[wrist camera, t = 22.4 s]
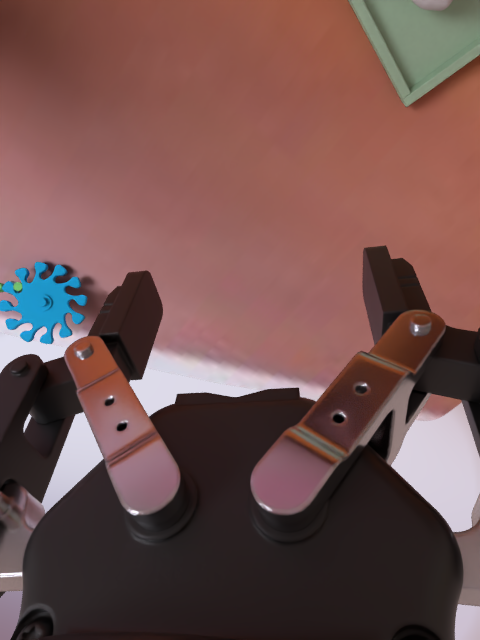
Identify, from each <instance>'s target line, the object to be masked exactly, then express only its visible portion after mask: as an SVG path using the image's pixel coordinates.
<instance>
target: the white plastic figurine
mask: <svg viewBox="0 0 480 640" xmlns="http://www.w3.org/2000/svg"><path fill="white" fill-rule="evenodd" d="M412 1H413V2H414V3H415V4H416V5H417V6H418V7H420V8H422V9H424V10H434V11H442V10H444V9H446V8H447V7H448V6H449V5H450V4H451V2H452V1H453V0H412Z"/></svg>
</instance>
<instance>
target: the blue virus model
mask: <svg viewBox="0 0 480 640" xmlns="http://www.w3.org/2000/svg"><path fill="white" fill-rule="evenodd" d="M35 270H36V274H35V278H34V280H33V281H32V282H31V283H28V282H27V278H28V276H29V271H28V269H26V268H20V269H18V270H15V274H16V275H17V276H18V277H19V279H20V280H21V282H22V283H19V282H14V281H11V282H9V281H8V282H6V283H5V284H2V283H0V292H4V291H5V292H8V293H9V294H11V295H14V296H15V297H16V299H17V300H18V305H17V306H16V307H14V306H13V305H12V304H11V302H9V301H5V300H2V301H1V302H0V310H1V311H6V312H7V311H12V310H14V311H17V312H19V313H21V314H22V319H21V320H19V321H18V320H16V319H7V320H6V325H7V328H8V329H10V330H14V329H16V328H17V327H18V326H20V325H21V324H24V323H31V324H32V325H33V328H32V330H30V331H24V332H22V333H21V334H20V336H21V338H22V339H23V340H25V341H27V342H30V341H32V340H33V339H34V335H35V333H36V332H37V331H38V330H39V329H40V328H42V327H43V326H45V327H46V328H47V333H46V334H44V335H43V336H42V337H41V338H40V342H42V343H45V344H52V343H53V341H54V339H53V329H54V327H55V325H56V323H60V324H61V325H62V328H61V330H60V332H59V335H60V337H61V338H64V337H69V336H71V335H72V331H71V329H69V327H68V326H67V324H66V320H65V316H66V314H67V313H71V314H72V320H73V322H74V323H75V324H80V323H81V322H82V321H83V320H84V319H85V316H84V315H82V314H79V313H77V312H75V311H74V310H73V309H72V308H71V307H70V305H69V302H70V301H71V300H72V299H74V300H75V301H76V302H77V304H79V305H81V306H85V305H86V303H87V296H85V295H79V296H72V295H69V294H67V293H66V288H67V287H68V286H72V287H74V288H80V287H81V282H80V280H79V278H78V277H73V278H71V279H70V280H69V281H67V282H65V283H60V284H57V283H56V281H55V279H56V277H58V276H64V275H66V274H67V270H66V269H65V268H64V267H62V266H61V265H57V266H56V267H55V269H54V272H53V273H52V275H51V276H50V277H48V278H47V279H45V280H43V279H42V278H41V275H42V274H43V273H44V272H46V271H47V270H48V265H46V264H44V263H41V262H36V263H35Z"/></svg>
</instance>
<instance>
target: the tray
mask: <svg viewBox="0 0 480 640" xmlns="http://www.w3.org/2000/svg"><path fill="white" fill-rule="evenodd" d="M348 1H349V3H350V5H351V7H352V9H353V11H354V13H355V15H356V16H357V18H358V20H359V22H360V24H361V26H362V28H363V30H364V31H365V33H366V35H367V37H368V39H369V41H370V43H371V45H372V46H373V48H374V50H375V52H376V54H377V56H378V58H379V60H380V62H381V63H382V65H383V67H384V69H385V71H386V73H387V75H388V77H389V78H390V80H391V82H392V84H393V86H394V88H395V90H396V92H397V93H398V95H399V97H400V99H401V101H402V103H403V104H404V105H405V106H406V107H408V106H409V105H411V104H412V103H413V102H415V101H416V100H417V99H419V98H420V97H422V96H423V95H424V94H426V93H427V92H429V91H430V90H431V89H433V88H434V87H436V86H437V85H438V84H440V83H441V82H443V81H444V80H445V79H447V78H448V77H450V76H451V75H452V74H454V73H455V72H456V71H458V70H459V69H461V68H462V67H463V66H465V65H466V64H468V63H469V62H470V61H472V60H473V59H475V58H476V57H477V56H479V55H480V0H453V1H452V2H451V4H450V5H449V6H448V7H447V8H446V9H444V10H442V11H434V10H424V9H422V8H420V7H418V6H417V5H416V4H415V3H414V2H413V1H412V0H348Z"/></svg>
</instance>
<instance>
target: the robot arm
mask: <svg viewBox="0 0 480 640" xmlns="http://www.w3.org/2000/svg"><path fill="white" fill-rule="evenodd" d="M363 297H364V302H365V306H366V310H367V315H368V319H369V323H370V327H371V331H372V336H373V340H374V344H375V346H374V347H373V348H372V349H371V350H370V352H369V353H366V352H363V351H360V352H358V353H357V354H356V355H355V356H354V357H353V358H352V360H351V361H350V362H349V363H348V364H347V366H346V367H345V368H344V369H343V370H342V372H341V373H340V374H339V375H338V376H337V378H336V379H335V380H334V381H333V382H332V384H331V385H330V386H329V387H328V388H327V389H326V391H325V392H324V393H323V394H322V395H321V397H320V398H319V399H318V400H317V401H314V400H310V399H307V398H302V397H300V393H299V388H283V389H267V390H263V391H259V392H256V393H252V394H248V395H244V396H240V397H229V396H222V395H217V394H212V393H188V394H177V397H176V401H175V404H172V405H169V406H167V407H164V408H162V409H160V410H158V411H157V412H155V413H153V414H152V415H151V416H149V417H148V415H147V413H146V412H145V410H144V408H143V406H142V405H141V403H140V401H139V400H138V398H137V396H136V395H135V393H134V391H133V389H132V388H131V386H130V385H129V382H130V380H140V379H142V377H143V374H144V371H145V368H146V365H147V362H148V359H149V356H150V353H151V350H152V347H153V344H154V341H155V338H156V334H157V331H158V328H159V325H160V322H161V319H162V315H163V307H162V302H161V299H160V297H159V294H158V292H157V289H156V286H155V284H154V281H153V278H152V276H151V274H150V272H149V271H139V272H130V273H128V274H127V276H126V278H125V280H124V282H123V284H122V286H117V287H116V288H115V289H114V290H113V291H112V292H111V293H110V294H109V295H108V297H107V299H106V301H105V303H104V306H103V307H102V309H101V311H100V314H99V315H98V316H97V318H96V320H95V322H94V324H93V326H92V328H91V330H90V332H89V334H88V336H87V337H83V338H81V339H79V340H77V341H75V342H74V343H72V344H71V345H70V346H69V347H68V348H67V350H66V351H65V354H64V357H61V358H58V359H55V360H51V361H48V362H45V363H43V361H42V360H41V359H40V357H39V356H37V355H34V354H28V355H23V356H21V357H18V358H16V359H14V360H13V361H12V362H10V363H9V364H8V365H6V366H5V368H4V369H3V370H2V372H1V373H0V597H1V596H2V595H3V594H4V593H5V592H6V591H23V596H22V604H21V610H20V615H19V620H18V623H17V626H16V629H15V631H14V634H13V636H12V638H11V640H455V632H454V631H455V617H456V610H457V605H458V604H462V605H472V606H480V494H479V496H478V499H477V501H476V504H475V506H474V508H473V511H472V517H471V518H472V528H470V529H469V530H466V531H462V532H452V530H451V528H450V527H449V525H448V523H447V522H446V521H445V519H444V518H443V517H442V516H441V515H440V513H439V512H438V511H437V510H436V509H435V508H434V507H433V506H432V505H431V504H430V503H428V502H427V501H426V500H425V499H424V498H423V497H422V496H421V495H420V494H419V493H418V492H417V491H416V490H415V489H414V488H413V487H412V486H411V485H410V484H408V482H406V481H405V480H404V479H403V478H402V477H401V476H400V475H399V474H398V473H397V472H396V471H395V470H394V469H393V468H392V467H391V464H392V462H393V461H394V459H395V458H396V456H397V454H398V452H399V450H400V448H401V445H402V442H403V440H404V437H405V435H406V433H407V431H408V430H409V428H410V427H411V425H412V423H413V422H414V420H415V419H416V417H417V416H418V414H419V413H420V411H421V409H422V408H423V406H424V405H425V403H426V402H427V400H428V398H429V397H430V395H431V394H436V395H441V396H446V397H450V398H455V399H460V400H462V403H463V406H464V409H465V412H466V415H467V419H468V422H469V425H470V428H471V431H472V434H473V437H474V441H475V444H476V447H477V450H478V453H479V456H480V328H479V330H478V332H475V331H468V330H461V329H456V328H452V327H449V326H447V325H445V322H444V321H443V319H442V318H441V317H440V316H438V315H437V314H435V313H433V312H431V309H430V307H429V304H428V302H427V300H426V297H425V295H424V292H423V290H422V288H421V285H420V283H419V281H418V278H417V277H416V273H415V271H414V269H413V266H412V265H411V264H409V263H408V262H407V261H406V260H404V259H403V258H399V259H391V258H390V255H389V252H388V249H387V247H386V246H377V247H368V248H364V250H363ZM82 412H84V413H85V415H86V418H87V420H88V422H89V425H90V427H91V430H92V432H93V434H94V437H95V439H96V441H97V443H98V446H99V448H100V451H101V453H102V455H103V457H104V459H103V460H102V461H101V462H100V463H99V464H98V465H97V466H96V467H94V468H93V469H92V470H91V471H90V472H89V473H88V474H87V475H86V476H85V477H84V478H83V479H82V480H80V481H79V482H78V483H77V484H76V485H75V486H74V487H73V488H72V489H71V490H70V491H69V492H68V493H67V494H66V495H65V496H63V498H61V499H60V500H59V501H58V502H57V503H56V504H55V505H54V506H53V507H52V508H51V509H50V510H49V511H48V512H47V513H46V514H45V510H44V507H43V505H42V504H41V503H42V501H43V498H44V495H45V493H46V490H47V487H48V485H49V482H50V480H51V477H52V474H53V472H54V469H55V467H56V464H57V461H58V459H59V456H60V453H61V451H62V448H63V446H64V443H65V440H66V438H67V435H68V432H69V430H70V427H71V424H72V422H73V419H74V416H75V414H78V413H82ZM28 414H30V415H31V416H32V417H31V419H30V422H29V424H28V426H27V428H26V430H25V432H23V427H24V423H25V421H26V418H27V416H28Z"/></svg>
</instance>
